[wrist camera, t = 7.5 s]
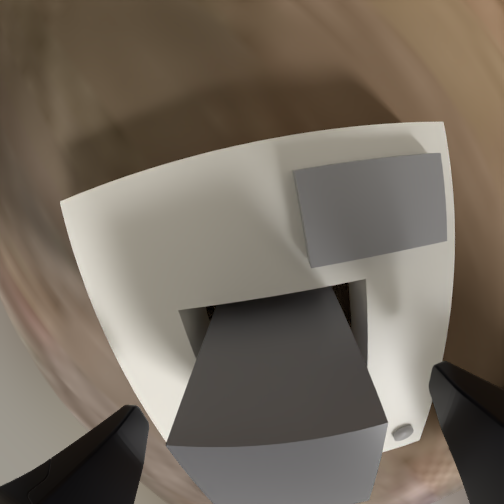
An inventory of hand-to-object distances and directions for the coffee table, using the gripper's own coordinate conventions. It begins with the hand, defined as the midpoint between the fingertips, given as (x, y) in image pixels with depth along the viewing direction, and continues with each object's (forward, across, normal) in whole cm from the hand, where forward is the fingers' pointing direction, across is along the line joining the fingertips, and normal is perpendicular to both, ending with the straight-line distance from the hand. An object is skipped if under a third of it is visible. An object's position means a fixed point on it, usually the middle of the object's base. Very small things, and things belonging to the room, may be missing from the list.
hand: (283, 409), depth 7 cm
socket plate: (+4, 0, 0) cm, 4 cm away
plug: (+4, 0, 0) cm, 4 cm away
